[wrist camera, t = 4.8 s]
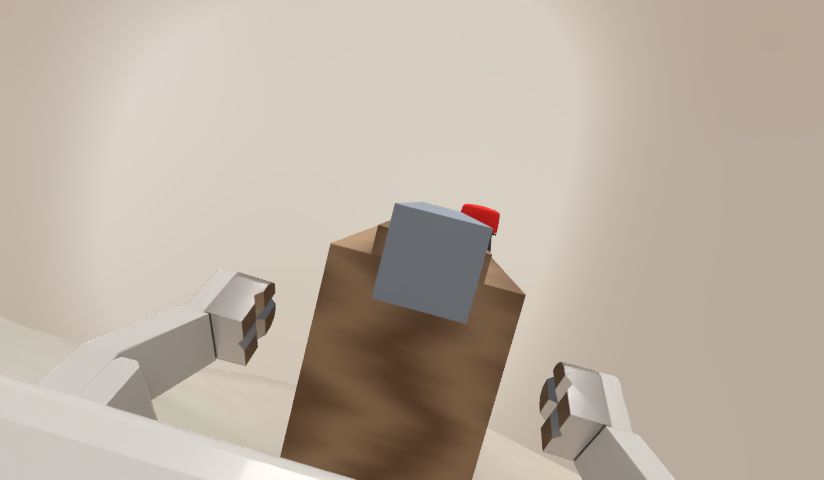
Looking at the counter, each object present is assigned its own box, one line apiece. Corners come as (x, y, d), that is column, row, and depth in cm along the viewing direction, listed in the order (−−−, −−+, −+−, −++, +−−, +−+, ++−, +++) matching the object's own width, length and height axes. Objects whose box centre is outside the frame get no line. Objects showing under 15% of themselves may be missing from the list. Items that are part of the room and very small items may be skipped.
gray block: (371, 298, 13) (395, 203, 12) (413, 239, 33) (423, 202, 32) (466, 323, 13) (492, 228, 12) (450, 249, 32) (460, 211, 32)
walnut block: (226, 683, 24) (337, 214, 21) (312, 489, 39) (382, 209, 37) (396, 737, 23) (534, 265, 20) (414, 519, 39) (493, 237, 36)
